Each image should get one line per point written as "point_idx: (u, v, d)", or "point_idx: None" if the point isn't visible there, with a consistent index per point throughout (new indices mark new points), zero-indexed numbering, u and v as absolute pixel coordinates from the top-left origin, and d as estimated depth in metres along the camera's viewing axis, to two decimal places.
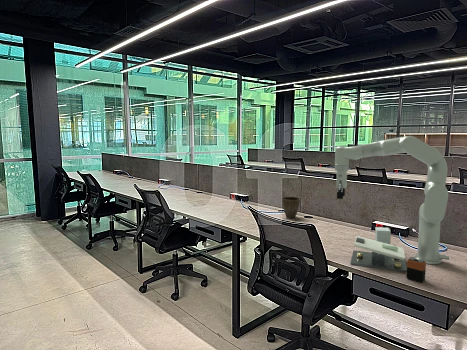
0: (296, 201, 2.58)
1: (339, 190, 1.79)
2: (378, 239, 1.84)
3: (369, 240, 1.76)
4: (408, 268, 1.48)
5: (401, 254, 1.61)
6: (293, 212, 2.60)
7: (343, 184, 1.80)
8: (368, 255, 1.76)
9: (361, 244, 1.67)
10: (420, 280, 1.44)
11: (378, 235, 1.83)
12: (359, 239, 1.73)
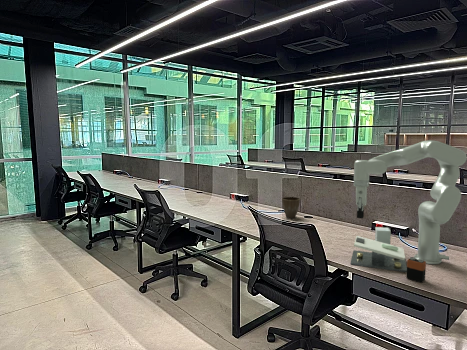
0: (296, 201, 2.58)
1: (359, 209, 1.68)
2: (378, 239, 1.84)
3: (369, 240, 1.76)
4: (408, 268, 1.48)
5: (401, 254, 1.61)
6: (293, 212, 2.60)
7: (363, 201, 1.65)
8: (368, 255, 1.76)
9: (361, 244, 1.67)
10: (420, 280, 1.44)
11: (378, 235, 1.83)
12: (359, 239, 1.73)
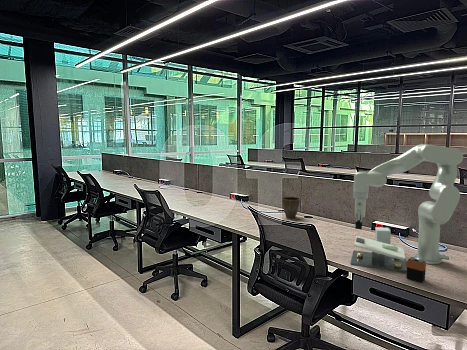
0: (296, 201, 2.58)
1: (358, 220, 1.69)
2: (378, 239, 1.84)
3: (369, 240, 1.76)
4: (408, 268, 1.48)
5: (401, 254, 1.61)
6: (293, 212, 2.60)
7: (362, 213, 1.66)
8: (368, 255, 1.76)
9: (361, 244, 1.67)
10: (420, 280, 1.44)
11: (378, 235, 1.83)
12: (359, 239, 1.73)
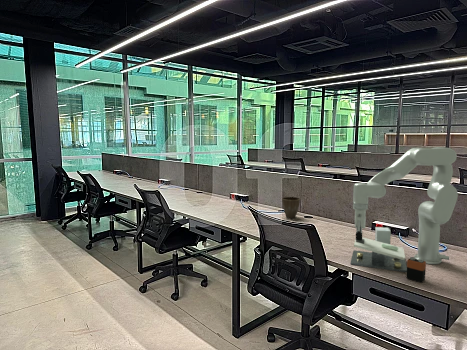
0: (296, 201, 2.58)
1: (358, 231, 1.70)
2: (378, 239, 1.84)
3: (369, 240, 1.76)
4: (408, 268, 1.48)
5: (401, 254, 1.61)
6: (293, 212, 2.60)
7: (362, 224, 1.66)
8: (368, 255, 1.76)
9: (361, 244, 1.67)
10: (420, 280, 1.44)
11: (378, 235, 1.83)
12: None
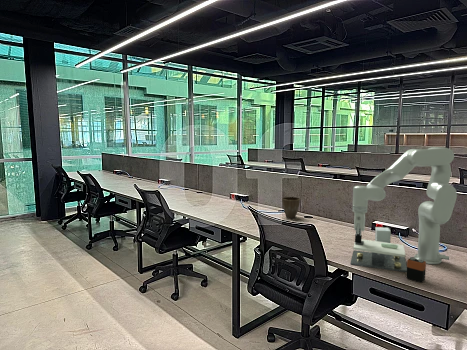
0: (296, 201, 2.58)
1: (358, 234, 1.70)
2: (378, 239, 1.84)
3: (368, 241, 1.76)
4: (408, 268, 1.48)
5: (401, 251, 1.61)
6: (293, 212, 2.60)
7: (361, 227, 1.67)
8: (368, 255, 1.76)
9: (360, 246, 1.68)
10: (420, 280, 1.44)
11: (378, 235, 1.83)
12: None
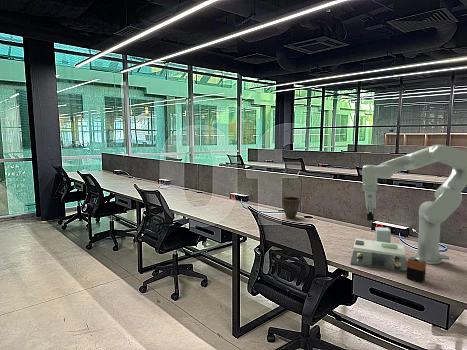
0: (296, 201, 2.58)
1: (370, 212, 1.74)
2: (378, 239, 1.84)
3: (368, 241, 1.76)
4: (408, 268, 1.48)
5: (401, 251, 1.61)
6: (293, 212, 2.60)
7: (373, 205, 1.71)
8: (368, 255, 1.76)
9: (360, 246, 1.68)
10: (420, 280, 1.44)
11: (378, 235, 1.83)
12: (358, 241, 1.73)
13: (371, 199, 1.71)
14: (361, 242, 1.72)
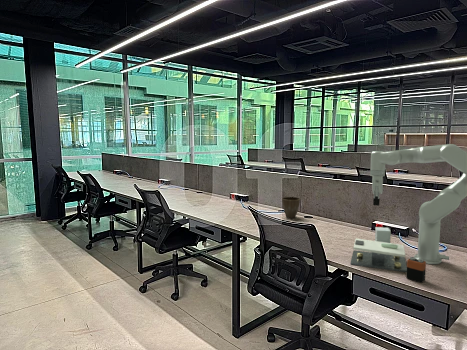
0: (296, 201, 2.58)
1: (376, 197, 1.79)
2: (378, 239, 1.84)
3: (368, 241, 1.76)
4: (408, 268, 1.48)
5: (401, 251, 1.61)
6: (293, 212, 2.60)
7: (380, 190, 1.76)
8: (368, 255, 1.76)
9: (360, 246, 1.68)
10: (420, 280, 1.44)
11: (378, 235, 1.83)
12: (358, 241, 1.73)
13: (378, 184, 1.76)
14: (361, 242, 1.72)
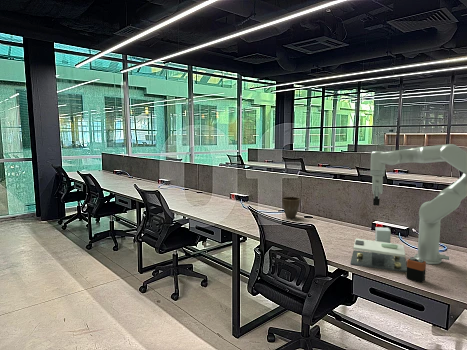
0: (296, 201, 2.58)
1: (376, 197, 1.79)
2: (378, 239, 1.84)
3: (368, 241, 1.76)
4: (408, 268, 1.48)
5: (401, 251, 1.61)
6: (293, 212, 2.60)
7: (380, 190, 1.76)
8: (368, 255, 1.76)
9: (360, 246, 1.68)
10: (420, 280, 1.44)
11: (378, 235, 1.83)
12: (358, 241, 1.73)
13: (378, 184, 1.76)
14: (361, 242, 1.72)
